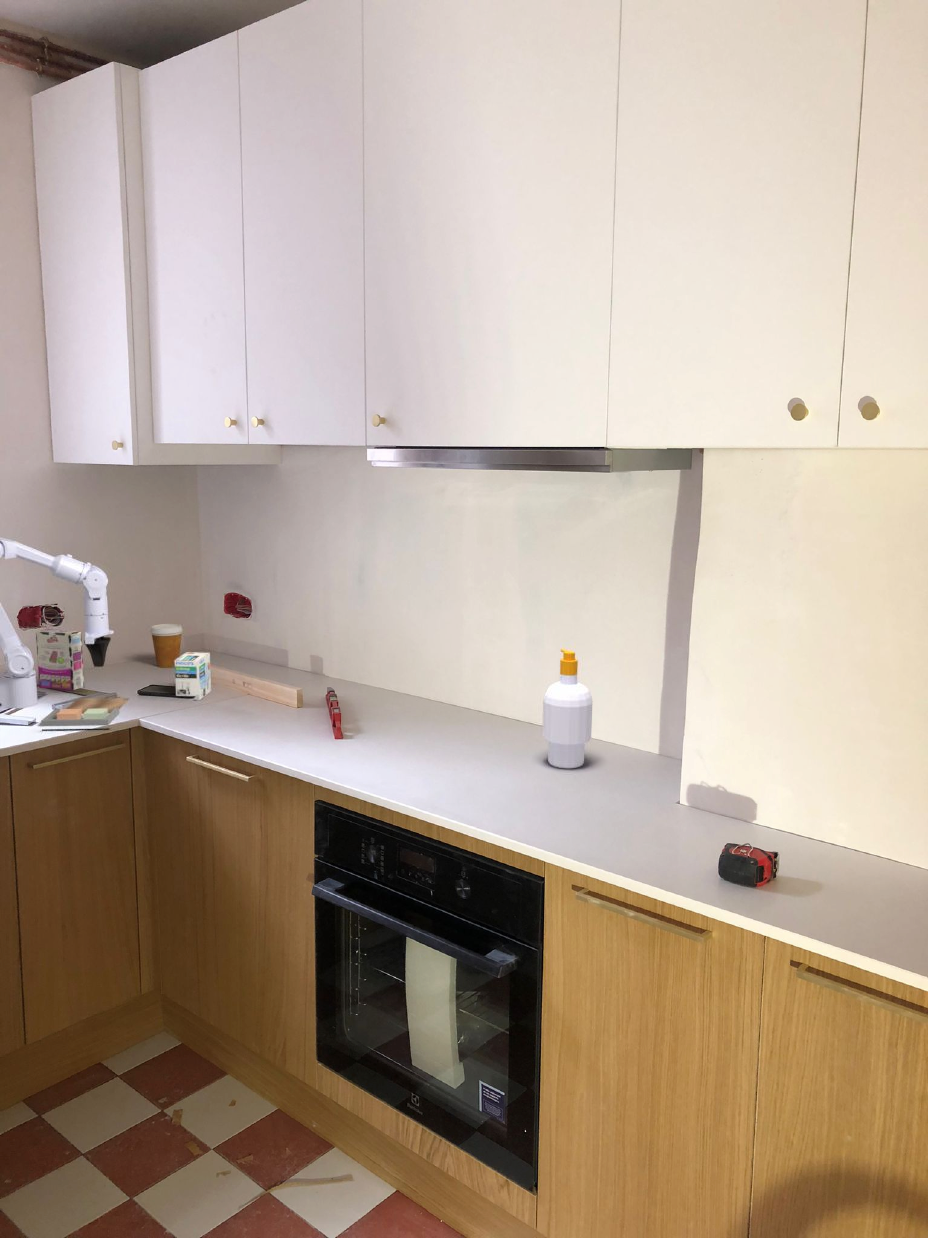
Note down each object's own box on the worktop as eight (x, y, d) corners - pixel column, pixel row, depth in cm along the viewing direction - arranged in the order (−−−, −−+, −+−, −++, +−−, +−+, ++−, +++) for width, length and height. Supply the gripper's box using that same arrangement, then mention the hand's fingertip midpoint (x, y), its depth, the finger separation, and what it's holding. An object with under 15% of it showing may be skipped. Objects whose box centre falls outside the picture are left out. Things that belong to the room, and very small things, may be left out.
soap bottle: (576, 754, 214) (579, 646, 210) (599, 768, 205) (603, 655, 201) (533, 759, 211) (536, 649, 206) (554, 773, 201) (558, 658, 197)
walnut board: (60, 718, 237) (59, 713, 237) (77, 703, 251) (77, 698, 251) (115, 718, 238) (115, 713, 238) (129, 702, 253) (129, 698, 252)
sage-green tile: (83, 724, 232) (83, 713, 231) (89, 718, 236) (88, 708, 236) (103, 723, 232) (102, 713, 232) (108, 718, 236) (107, 708, 236)
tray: (41, 731, 227) (41, 720, 226) (56, 718, 237) (55, 708, 237) (108, 730, 228) (107, 719, 228) (119, 717, 239) (119, 707, 238)
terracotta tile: (57, 724, 231) (56, 714, 231) (63, 719, 235) (62, 709, 235) (77, 724, 231) (76, 713, 231) (82, 718, 236) (81, 708, 235)
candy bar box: (85, 690, 265) (82, 630, 262) (73, 694, 260) (69, 633, 258) (51, 686, 268) (47, 627, 266) (38, 691, 264) (34, 631, 261)
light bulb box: (200, 700, 256) (199, 660, 254) (175, 700, 256) (173, 660, 254) (211, 690, 266) (210, 651, 264) (187, 690, 266) (185, 651, 264)
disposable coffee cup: (149, 663, 298) (148, 624, 296) (182, 661, 302) (180, 622, 300) (153, 670, 290) (151, 630, 288) (186, 667, 294) (185, 628, 291)
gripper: (104, 618, 243) (107, 672, 245) (119, 609, 257) (122, 660, 259) (75, 619, 242) (78, 672, 245) (92, 609, 256) (94, 660, 259)
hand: (99, 666), depth 252 cm, fingers closed
